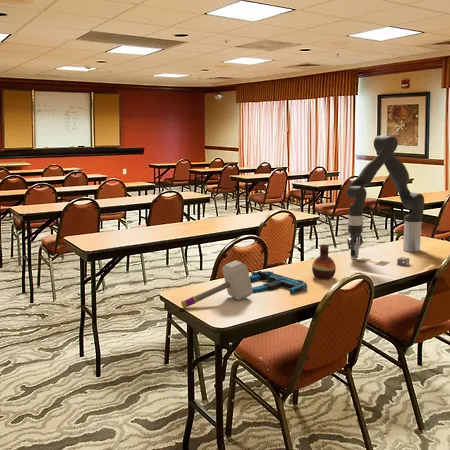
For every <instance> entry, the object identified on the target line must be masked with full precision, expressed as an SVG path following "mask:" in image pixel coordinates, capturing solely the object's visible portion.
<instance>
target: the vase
mask: <svg viewBox="0 0 450 450" xmlns="http://www.w3.org/2000/svg"><path fill="white" fill-rule="evenodd" d="M329 248H330V247H329V245H327V244H320V245H319V256H317V257H316V258H315V259H314V260H313V262H312V265H311V272H312V274H313V276H314V278H316V279H317V280H322V281H323V280H324V281H325V280H331V279H332V278H334V277H335V274H336V270H337V269H336V268H337V267H336V263H335V261H334V260H333V258H332V257H330V256H329Z"/></svg>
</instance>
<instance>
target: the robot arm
mask: <svg viewBox="0 0 450 450" xmlns="http://www.w3.org/2000/svg"><path fill="white" fill-rule="evenodd" d="M398 142H399V141H398V139H397V137H396V136H393V135H382V134H381V135H378V136H376V137H375V138H374V140H373V148H374V150H375V152H376V153H377V156H375V157H374V159H372V160H370V161H369V162H368V163H367V164H366V165H365V166H364V167H363V169H362V170H361V171H360V173H359V175H358V177H356V178H355V179H354V180H353V182H351V183H350V184H349V186H348V187H347V188H346V196H347V197H348V198H349V199H352V200H354V203H350V205H349V206H348V219H347V233H349V234H350V235H349V238H347V240H346V241H347V247H348V249H349V250H350V257H351V256H352V257H354V256H355V247H356V245H357V241H358V254H359V252H360V247H361V246H362V241H363V235H362V233H363V227H364V215H363V214H364V206H365V201H366V198H367V190H366V188H365V187H367V186H369V185H370V184H371V183H372V181H373V179H374V178H375V176H376V175H377V173H378V171H380V169H381V167H382V166H384V167H385V168H386V171H387V172H388V173H389V176H390V178H391V180H392V182H393V184H394V186H395V188H396V190H397V192H398V195H399V199H400V201H401V203H402V206H403V207H404V208H406V209H408V210H409V209H410V210H411V211H412V212H411V213H410V214H409V213H408V214H406V215H405V216H404V224H403V225H404V227H403V244H402V247H403V249H402V250H403V251H404V252H411V253H413V252H415V253H417V252H420V251H421V242H422V241H421V238H422V237H421V236H422V235H421V234H422V219H423V216H424V209H425V196H424V195H423V194H421V193H418V192H412V191H410V190H409V187H408V183H409V180H410V175H409V172H408V169H407V167H406V166H405V164H404V163H403V162H402V161H401V160H400V159H398V157H396V156H395V155H394V152H395V151H396V150H397V147H398V144H399V143H398ZM353 243H355V244H353ZM353 245H354V246H353Z"/></svg>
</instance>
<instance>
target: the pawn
mask: <svg viewBox="0 0 450 450" xmlns="http://www.w3.org/2000/svg"><path fill="white" fill-rule="evenodd" d="M353 244H355V243H353ZM353 246H354V245H353ZM350 258H355V259H356V258H359V253H358V241H357V245H356V247H355V256H354V257H352V256H351V255H350Z"/></svg>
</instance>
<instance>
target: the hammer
mask: <svg viewBox="0 0 450 450" xmlns="http://www.w3.org/2000/svg"><path fill="white" fill-rule="evenodd" d="M221 270H222V271H221V272H222V274H223V279H224V283H221V284H219V285H217V286H215V287H213V288H210V289H208V290H206V291H203V292H202V293H199V294H197V295H194V296H191V297H189V298H187V299H185V300H181V303H180V304H181V307H182V308H183V309H187V308H188V307H190V306H192V305H196V304H197V303H199V302H200V301H203V300H204V299H207V298H208V297H211V296H213V295H215V294H217V293H219V292H222V291H224V290H226V291H227V293H228V294H227V295H228V296H231V297H232V298H234V299H236V300H238V301H241V300H243V299H246V298H249V297H250V296H251V295H253V294H254V293H253V289H252V287H253V286H252V281H250V273H249V269H248V265H246V264H245V263H243V262H241V261H239V260H233V261H231V262H229V263H226V264H224V265H223V266H222V267H221Z"/></svg>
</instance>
